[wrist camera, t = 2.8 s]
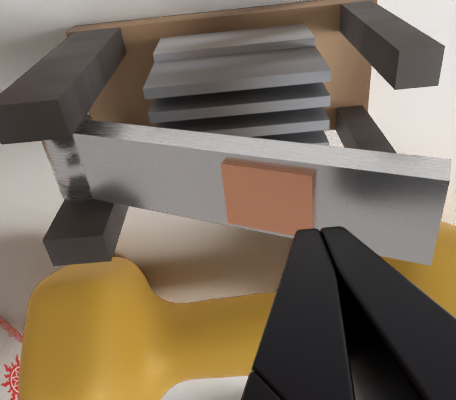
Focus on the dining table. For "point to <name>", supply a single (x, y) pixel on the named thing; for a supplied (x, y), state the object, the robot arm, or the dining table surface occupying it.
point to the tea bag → (9, 361)
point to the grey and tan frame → (215, 87)
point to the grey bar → (258, 183)
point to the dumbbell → (159, 329)
